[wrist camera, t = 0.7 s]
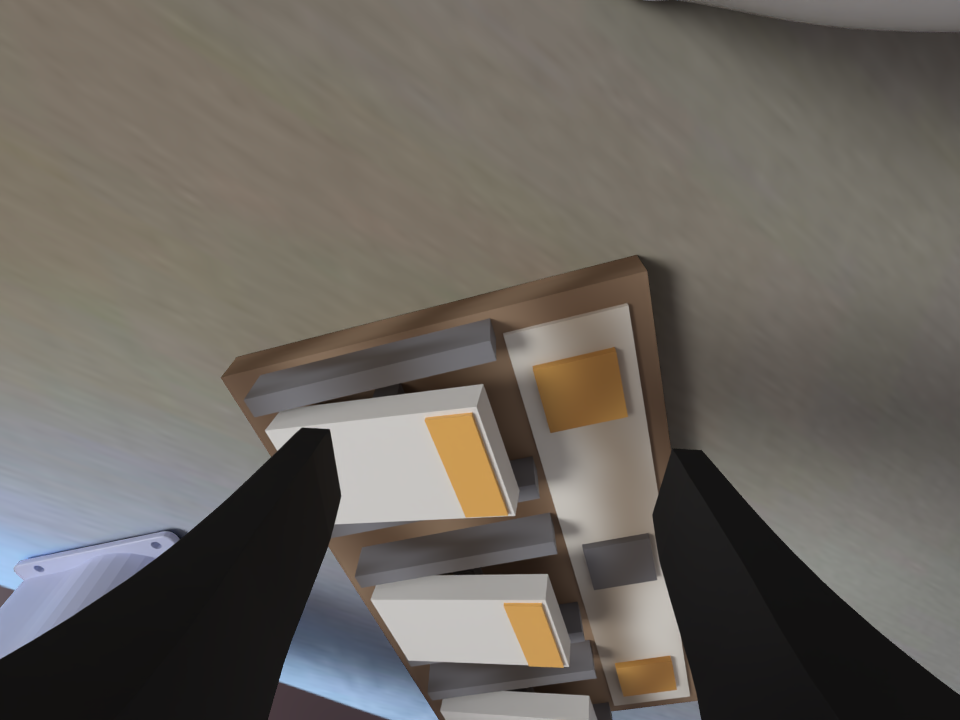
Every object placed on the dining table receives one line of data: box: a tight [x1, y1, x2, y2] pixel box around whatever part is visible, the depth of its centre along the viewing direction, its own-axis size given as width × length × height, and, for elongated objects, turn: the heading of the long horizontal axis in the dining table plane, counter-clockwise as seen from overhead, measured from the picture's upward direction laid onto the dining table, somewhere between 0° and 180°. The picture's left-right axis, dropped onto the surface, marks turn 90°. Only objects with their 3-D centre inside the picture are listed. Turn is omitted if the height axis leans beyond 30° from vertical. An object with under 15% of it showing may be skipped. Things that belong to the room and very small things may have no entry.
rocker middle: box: [371, 574, 571, 668], centre depth 25 cm, size 8×5×1 cm, turn 106°
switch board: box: [221, 255, 698, 720], centre depth 26 cm, size 16×28×3 cm, turn 16°
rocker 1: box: [265, 384, 519, 524], centre depth 20 cm, size 8×5×1 cm, turn 106°
